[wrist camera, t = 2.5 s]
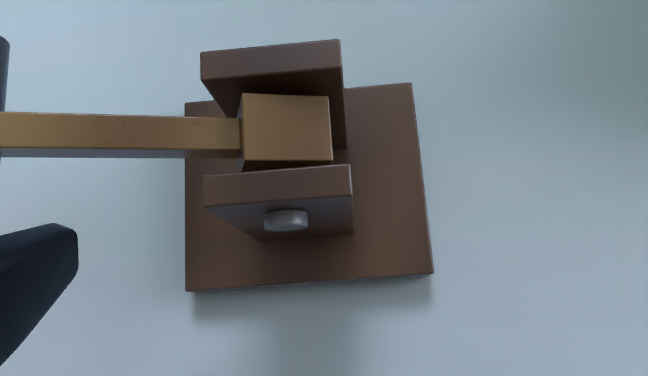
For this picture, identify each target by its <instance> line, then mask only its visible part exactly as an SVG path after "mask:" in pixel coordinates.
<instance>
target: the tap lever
mask: <svg viewBox="0 0 648 376" xmlns="http://www.w3.org/2000/svg"><path fill="white" fill-rule="evenodd" d="M9 52H10V45H9V43H8V41H7V40H6V39H4V38H3V37H1V36H0V160H1V157H50V158H204V159H237V173H238V172H250V171H262V170H274V169H286V168H298V167H310V166H322V165H330V163H331V162H332V161H333V149H332V136H331V123H330V110H329V98H328V97H327V96H305V95H280V94H255V93H242V95H241V100H240V105H239V109H238V114H237V118H220V117H183V116H147V115H110V114H73V113H37V112H5V100H6V88H7V76H8V64H9Z"/></svg>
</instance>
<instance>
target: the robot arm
mask: <svg viewBox="0 0 648 376" xmlns="http://www.w3.org/2000/svg"><path fill="white" fill-rule="evenodd" d="M78 264H79V263H78V238H77V234H76V232H75V231H74V230H73V229H70V228H67V227H65V226H62V225H59V224H56V223H50V224H46V225H42V226H38V227H34V228H29V229H25V230H21V231H17V232H13V233H9V234H5V235H1V236H0V366H1V365H2V364H3V363H4V362H5V361H6V360H7V359H8V358H9V356H10V355H11V354H12V353H13V352H14V351H15V350H16V349H17V348H18V347H19V346H20V344H21V343H22V342H23V341H24V340H25V339H26V337H27V336H28V335H29V334H30V332H31V331H32V330H33V329H34V327H35V326H36V325H37V324H38V322H39V321H40V320H41V319H42V317H43V316H44V315H45V314H46V312H47V311H48V310H49V309H50V307H51V306H52V305H53V304H54V302H55V301H56V300H57V299H58V297H59V296H60V295H61V294H62V292H63V291H64V290H65V289H66V287H67V286H68V285H69V284H70V282H71V281H72V280H73V278H74V277H75V275H76V273H77V270H78Z"/></svg>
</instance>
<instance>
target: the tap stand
mask: <svg viewBox="0 0 648 376" xmlns="http://www.w3.org/2000/svg"><path fill="white" fill-rule="evenodd" d="M200 73H201V81H202V83H203V84H204V86H205V87H206V88H207V90H208V91H209V93H210V94H211V95H212V97H213V98H214V100H212V101H201V102H190V103H185V117H220V118H237V114H238V109H239V105H240V100H241V95H242V93H255V94H280V95H305V96H327V97H328V98H329V110H330V123H331V136H332V149H333V161H332V162H331V163H330V165H322V166H310V167H298V168H286V169H274V170H262V171H250V172H238V173H237V159H204V158H185V290H186V291H187V292H201V291H215V290H229V289H243V288H257V287H270V286H284V285H298V284H312V283H326V282H340V281H354V280H367V279H381V278H395V277H409V276H423V275H430V274H433V273H434V267H433V259H432V250H431V242H430V233H429V225H428V216H427V208H426V199H425V191H424V182H423V174H422V165H421V156H420V148H419V139H418V131H417V122H416V114H415V105H414V97H413V88H412V83H399V84H388V85H377V86H366V87H355V88H344V85H343V70H342V57H341V45H340V40H339V39H332V40H322V41H311V42H301V43H290V44H280V45H269V46H259V47H249V48H238V49H228V50H217V51H207V52H201V53H200Z"/></svg>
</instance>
